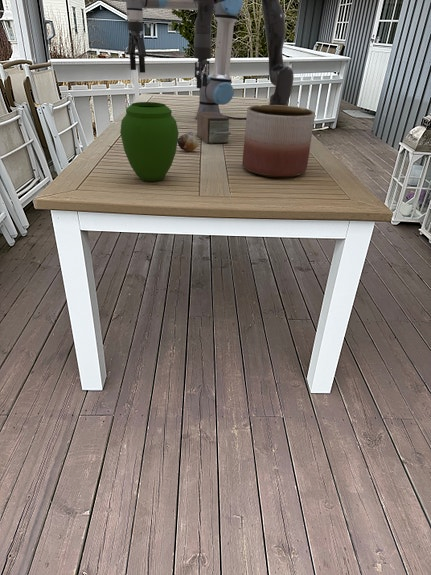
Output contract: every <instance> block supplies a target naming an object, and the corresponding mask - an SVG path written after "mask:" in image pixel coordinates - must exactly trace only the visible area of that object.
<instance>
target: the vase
mask: <svg viewBox="0 0 431 575" xmlns="http://www.w3.org/2000/svg"><path fill="white" fill-rule="evenodd" d="M125 113H126V114H125V115H124V117H122V119H121V122H120V123H121V124H120V130H119V133H120V138H121V142H122V147H123V150H124V154H125V155H126V158H127V160H128V163H129V165H130V167H131V168H132V170H133V172H134V173H135V175H136V176H137V177H138V178H139V179H141V180H143V181H145V182H159V181H161V180H163V179H164V178H165V176H166V175H167V174H168V173H169V170H170V169H171V167H172V165H173V162H174V159H175V157H176V156H175V155H176V153H177V147H178V142H177V141H178V138H179V129H178V122H177V120H176V119H175V117H174V116H173V115H172V109H171V108H170V107H169V106H167V105H166V104H164V103H162V102H155V101H138V102H132V103H131V104H130V105H128V107H127V108H125Z"/></svg>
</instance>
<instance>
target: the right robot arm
mask: <svg viewBox="0 0 431 575" xmlns="http://www.w3.org/2000/svg"><path fill="white" fill-rule="evenodd" d="M223 1H226V0H193V2H194V5H195V7H196V8H197V9H198V10H197V16H196V18H195V20H194V38H193V39H194V40H193V58H194V59H197V61H194V78H195V79H196V88H197V89H200V88H202V86H205V87H206V86H207V77H209V76H210V64H211V62H210V60H211V59H212V42H213V41H212V20H213V15H214V14H213V10H214V4H216V3H219V2H223ZM261 8H262V16H263V25H264V32H265V39H266V47H267V48H266V49H267V55H268V56H267V57H268V75H269V76H268V77H269V82H270V83H271V85H273V86H275V87H274V92H273V94H271V95H270V96H269V103H268V105H284V106H289V100H290V98H291V97H292V96H291V95H292V90H293V85H294V77H295V74H294V70H293V69H292V68H291V67H290V66H286V65H285V63H284V56H283V50H284V44H285V40H286V34H287V29H286V28H287V27H286V18H285V13H284V10H283V8H282V6H281V2H280V0H261Z"/></svg>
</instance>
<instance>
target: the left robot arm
mask: <svg viewBox="0 0 431 575" xmlns="http://www.w3.org/2000/svg"><path fill="white" fill-rule="evenodd" d="M125 4H126V6H125V7H126V12H125V15H126V20H127V22H126V23H127V24H126V25H127V26H126V27H127V31H129V32H128V46H127V54H128V55H129V66H130V67H129V68H130V71H136V70H137V62H136V55H137V54H136V49H137V53H138V56H137V57H138V70H139V73H141V74H142V73H146V60H145V58H146V57H147V51H146V45H145V39H144V33H141V32H144V23H143V21H144V9H145V10H146V9H153V10H154V9H156V10H157V9H158V10H159V9H160V10H161V9H162V10H182V11H183V10H186V11H198V9H197V8H196V7H195V5H194V2H193V0H125ZM242 9H243V0H226V1H223V2H219V3H216V4H214V10H213V15H214V19H215V21H216V22H217V24H216V25H217V26H216V39H215V50H214V51H215V52H214V55H215V56H214V64H213V66H214V67H213V74H212V75H211V76H208V77H207V86H206V87H205V86H202V88H199V94H198V95H199V100H198V101H199V103H198V104H199V105H198V107H197V111H196V112H195V119H196V120H197V115H198V112H219V113H220V114H221V110H220V107H219V105H222V106H223V105H227V104H229V103H230V102H231V101H232V99H233V97H234V92H235V91H234V90H235V89H234V87H233V85H232V77H231V76H230V68H231V58H232V48H233V37H234V25H235V23H236V22H237V21H238V17H239V16H238V15H239V13H240V12H241V11H242ZM130 31H131V32H130ZM223 115H224V114H223ZM224 116H226V117H228V118H229V119H232V120H246V118H247V117H234V116H229V115H224Z"/></svg>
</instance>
